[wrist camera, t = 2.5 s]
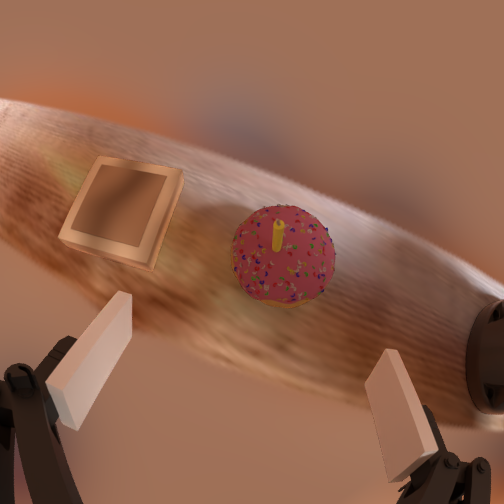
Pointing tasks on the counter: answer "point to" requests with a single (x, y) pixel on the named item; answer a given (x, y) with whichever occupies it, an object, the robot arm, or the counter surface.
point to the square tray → (123, 211)
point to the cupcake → (282, 256)
